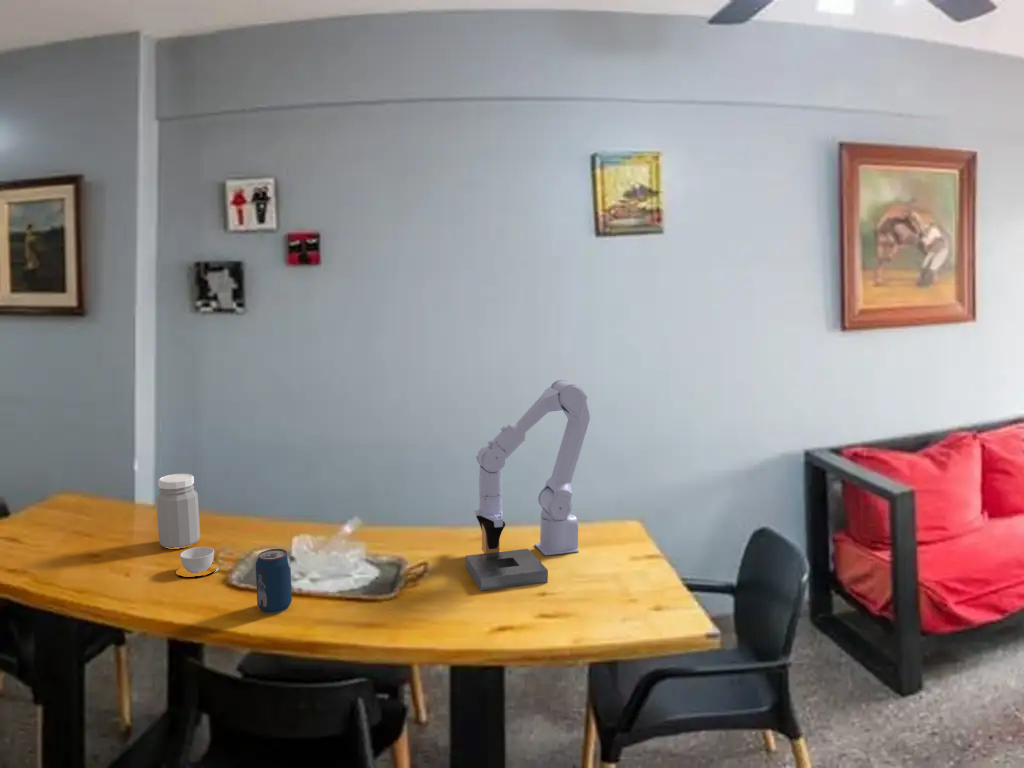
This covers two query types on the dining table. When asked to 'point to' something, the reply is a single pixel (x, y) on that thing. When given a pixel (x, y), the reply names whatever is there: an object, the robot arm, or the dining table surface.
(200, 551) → the teacup
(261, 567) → the soda can
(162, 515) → the jar
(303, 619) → the dining table surface
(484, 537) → the peach rectangular block
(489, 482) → the robot arm
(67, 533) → the dining table surface
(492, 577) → the gray block with hole
